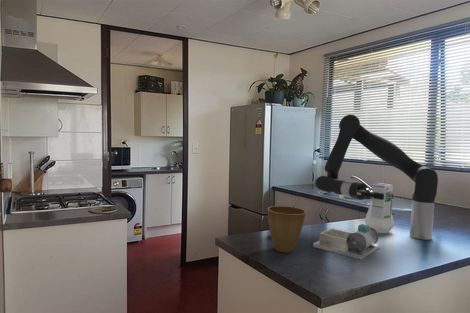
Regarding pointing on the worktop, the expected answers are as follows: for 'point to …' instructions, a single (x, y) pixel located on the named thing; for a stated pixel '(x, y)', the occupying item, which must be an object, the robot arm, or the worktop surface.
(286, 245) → the plant pot
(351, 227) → the worktop surface
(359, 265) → the worktop surface
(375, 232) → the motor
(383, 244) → the worktop surface
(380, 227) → the cup
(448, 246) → the worktop surface
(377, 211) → the syrup box
